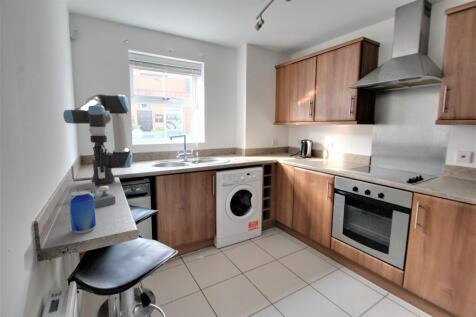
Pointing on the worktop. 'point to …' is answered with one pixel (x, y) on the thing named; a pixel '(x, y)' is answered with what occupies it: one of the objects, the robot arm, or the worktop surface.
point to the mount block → (103, 200)
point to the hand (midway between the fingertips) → (101, 177)
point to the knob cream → (104, 190)
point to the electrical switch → (87, 187)
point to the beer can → (82, 211)
